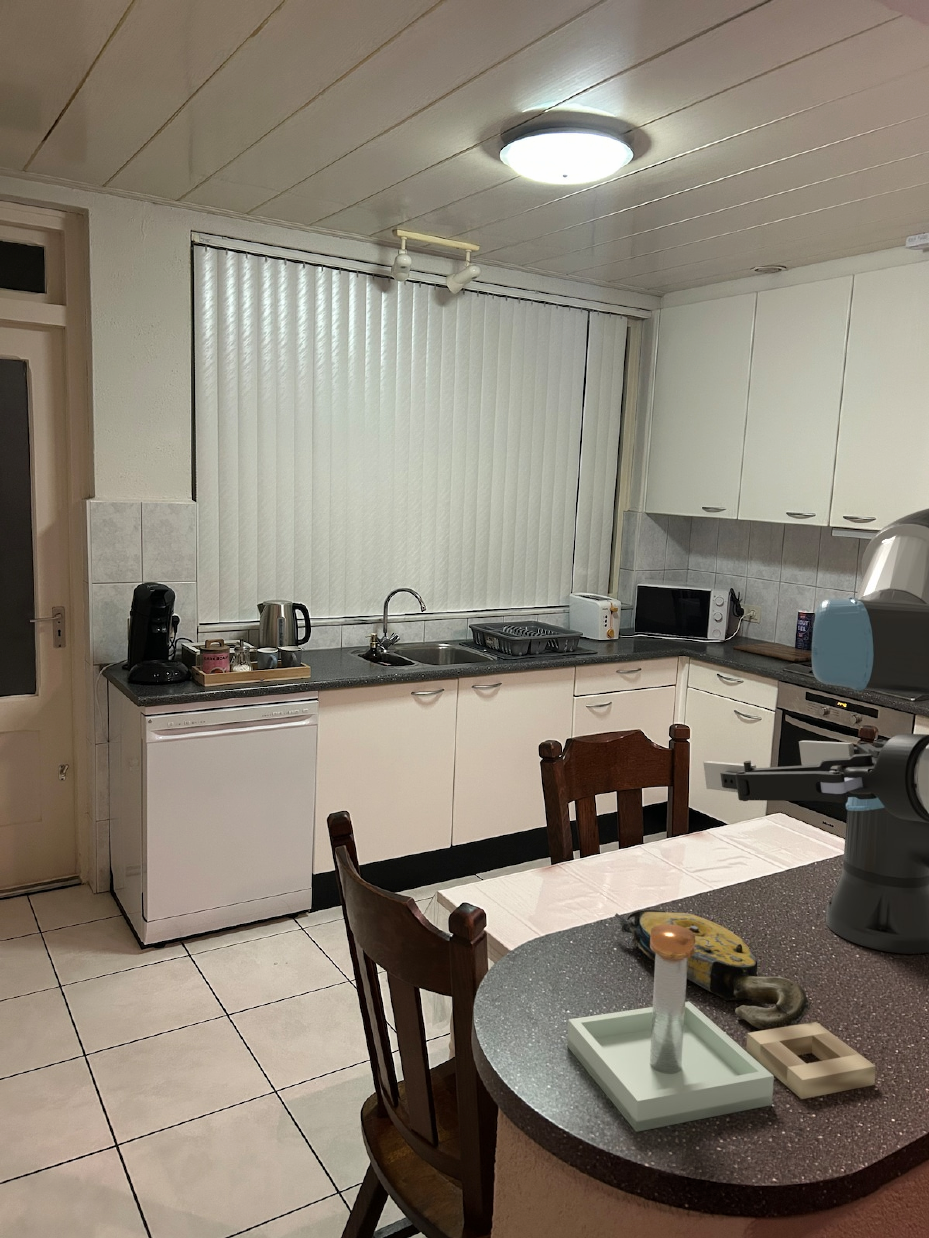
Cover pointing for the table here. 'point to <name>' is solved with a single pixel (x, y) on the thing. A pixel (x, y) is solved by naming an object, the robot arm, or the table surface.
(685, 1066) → the pale green tray
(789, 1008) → the pulley block
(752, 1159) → the table surface
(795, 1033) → the bracket
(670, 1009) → the steel pin
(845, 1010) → the table surface
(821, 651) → the robot arm
